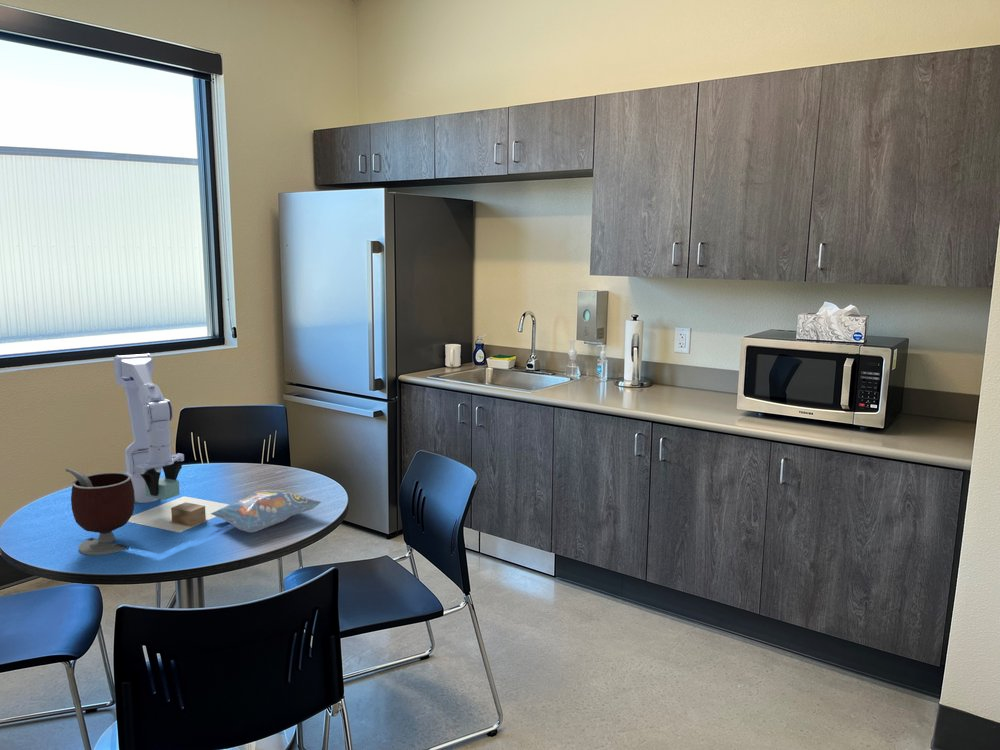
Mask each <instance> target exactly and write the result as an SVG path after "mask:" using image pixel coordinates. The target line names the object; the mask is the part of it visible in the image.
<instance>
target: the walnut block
mask: <svg viewBox="0 0 1000 750" xmlns="http://www.w3.org/2000/svg"><path fill="white" fill-rule="evenodd" d="M171 515H172V522H174V523H179V524H184V525H189V526H193V525H195V524H198V523H200V522H202V521H205V520H206V513H205V506H203V505H198V504H192V503H187V502H185V503H182V504H180V505H177V506H175V507H172V508H171ZM205 522H206V521H205ZM198 525H199V524H198Z"/></svg>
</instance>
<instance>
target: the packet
mask: <svg viewBox="0 0 1000 750" xmlns="http://www.w3.org/2000/svg"><path fill="white" fill-rule="evenodd" d="M321 503H322V501H320V500H316V499H313V498H312V499H311V498H308V497H305V496H302V495H300V494H297V493H292V492H290V491H289V490H283V489H259V490H255V491H254V492H252V493H251V494H250V495H249V496H247V497H245V498H242V499H240V500H238V501H235V502H233V503H231V504H229V505H228V506H226V507H224V508H222V509H220V510H217V511H215V512H213V513H211V514H212V515H214V516H217V518H219V519H222V520H223V521H225V522H227V523H229V524H230V525H232V526H233V527H235V528H236V529H238V530H240V531H243V532H247V533H250V534H251V533H256V532H259V531H261V530H263V529H266V528H269V527H270V526H271V527H272V526H273V525H276V524H278V523H281V522H285V521H286V520H287V519H289V518H290V517H291V516H295V515H299V514H301V513H305V512H309V511H312V510H313V509H315V508H316V507H317V506H319V505H320V504H321Z"/></svg>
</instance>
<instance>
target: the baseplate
mask: <svg viewBox="0 0 1000 750" xmlns="http://www.w3.org/2000/svg"><path fill="white" fill-rule="evenodd" d="M185 502H187V503H192V504H198V505H203V506H205V513H206V520H205V521H202V522H200V523H198V524H195V525H193V526H189V525H184V524H179V523H174V522H172V515H171V508H172V507H175V506H177V505H180V504H182V503H185ZM228 505H230V504H229V503H225V502H224V503H222V502H219V501H218V502H217V501H212V500H207V499H202V498H201V499H200V498H196V497H190V496H184V495H183V496H181V497H178V498H175V499H172V500H170V501H168V502H165V503H163V504H160V505H158V506H155V507H154V506H153V507H151V508H150V509H147V510H144V511H142V512H139V513H137V514H134V515H133V514H132V516H131V518H130V519H129V520H128V522H127V523H133V524H137V525H142V526H146V527H151V528H156V529H161V530H167V531H170V532H176V533H182V532H184V531H186V530H189V529H192V528H194V527H196V526H198V525H200V524H202V523H205V522H207V521H209V520H212V519H213V518H214V519H215V518H216V517H217V516H214V515H212V514H211V513H213V512H215V511H217V510H220V509H222V508H224V507H226V506H228ZM217 518H218V517H217Z"/></svg>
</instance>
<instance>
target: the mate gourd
mask: <svg viewBox="0 0 1000 750" xmlns="http://www.w3.org/2000/svg"><path fill="white" fill-rule="evenodd" d="M65 472H68V473H70V474H71V475H73V477H75V478H76V479H74V480H73V482H71V483H72V488H71V493H70V495H71V496H70V503H71V511H72V512H71V513H72V515H73V519H74V521H75V523H76V524H77V525H78V526H79V527H80V528H81V529H82V530H84V531H86V532H91V533H98V534H99V536H98V538H92V537H91V538H87V539H86V540H84V541H81V543H79V545H78V551H79V552H80V554H84V555H89V556H101V555H108V554H109V555H110V554H114V553H117V552H121V551H124V550H126V549H127V548H129V547H130V546H127V545H123V544H120V543H115V542H114V541H115V538H116V536H115V534H114V532H113V531H115V530H117V529H120V528H121V527H123V526H126V524H127V523H129V522H128V520H129V519H130V518H131V516H133V514H134V511H135V510H134V509H135V503H136V502H135V496H134V488H133V484H132V481H131V476H130V475H129V473H127V472H126V473H125V472H119V471H118V472H116V471H115V472H114V471H113V472H111V471H110V472H101V473H100V472H99V473H93V474H90V475H85V474H84V473H82V472H79V471H77V470H74V469H72V468H68V467H66V468H65Z"/></svg>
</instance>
